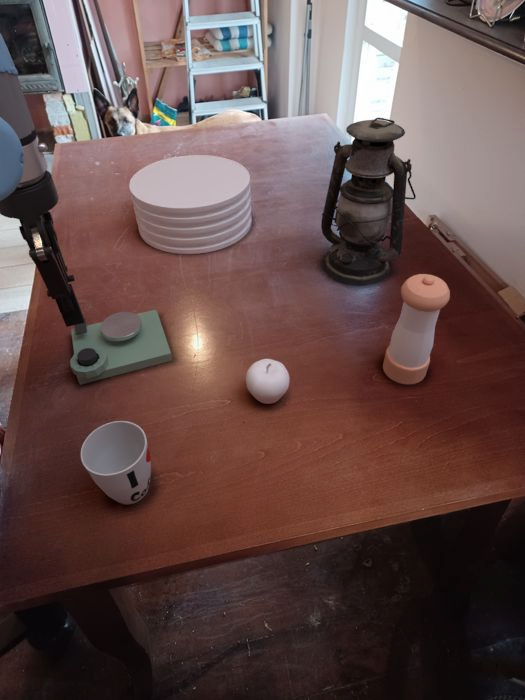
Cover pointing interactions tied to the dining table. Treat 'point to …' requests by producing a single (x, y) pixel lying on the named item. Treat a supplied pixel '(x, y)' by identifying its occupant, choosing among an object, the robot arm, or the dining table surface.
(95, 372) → the scale
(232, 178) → the plate stack
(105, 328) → the pan
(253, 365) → the plain white apple
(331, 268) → the lantern
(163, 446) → the dining table surface
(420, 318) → the salt shaker
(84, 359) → the button
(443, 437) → the dining table surface
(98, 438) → the cup
